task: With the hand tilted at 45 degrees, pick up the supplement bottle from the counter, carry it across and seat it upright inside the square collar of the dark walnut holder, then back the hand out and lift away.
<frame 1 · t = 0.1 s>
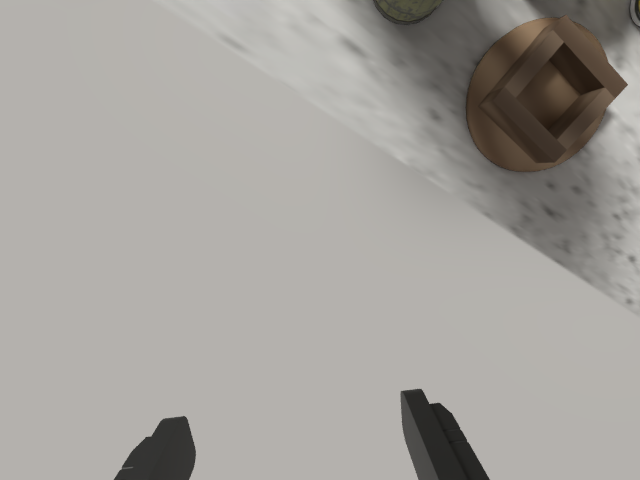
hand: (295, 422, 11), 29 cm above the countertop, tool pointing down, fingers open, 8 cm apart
holder: (534, 100, 36), on the countertop
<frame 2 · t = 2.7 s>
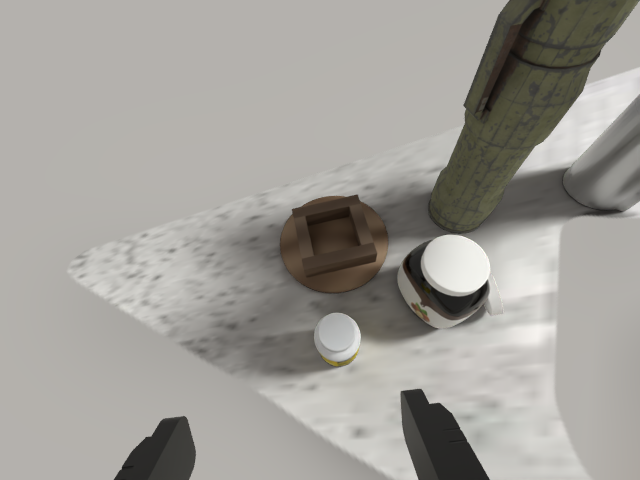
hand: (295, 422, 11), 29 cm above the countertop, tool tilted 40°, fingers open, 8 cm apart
thermos: (454, 211, 48), on the countertop
holder: (333, 241, 47), on the countertop
supplement bottle: (338, 345, 40), on the countertop
spread jar: (444, 294, 42), on the countertop
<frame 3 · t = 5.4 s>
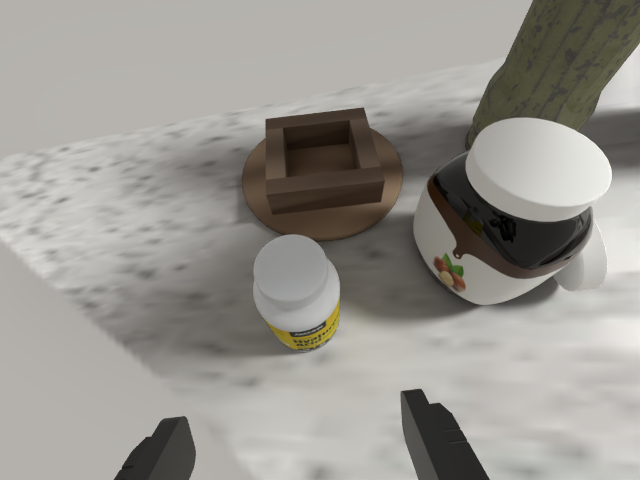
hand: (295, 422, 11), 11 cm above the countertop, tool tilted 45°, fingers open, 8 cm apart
thermos: (504, 149, 33), on the countertop
holder: (321, 174, 32), on the countertop
supplement bottle: (307, 319, 24), on the countertop
spread jar: (486, 258, 26), on the countertop
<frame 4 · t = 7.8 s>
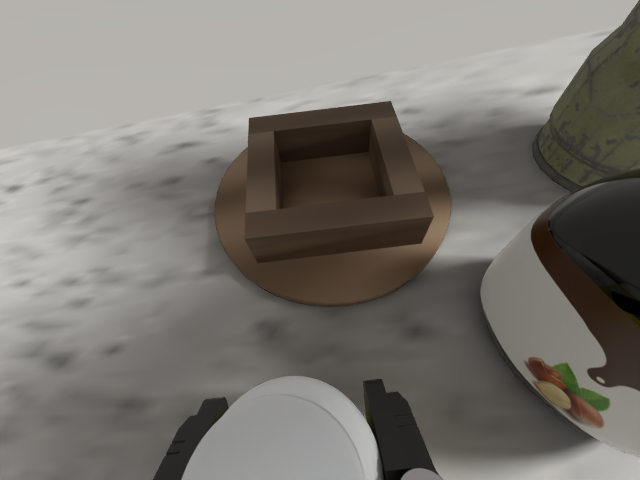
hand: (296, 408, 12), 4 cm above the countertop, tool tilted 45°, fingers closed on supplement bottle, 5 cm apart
thermos: (591, 160, 23), on the countertop
holder: (330, 197, 22), on the countertop
supplement bottle: (310, 452, 14), on the countertop, touching gripper
spread jar: (597, 339, 16), on the countertop
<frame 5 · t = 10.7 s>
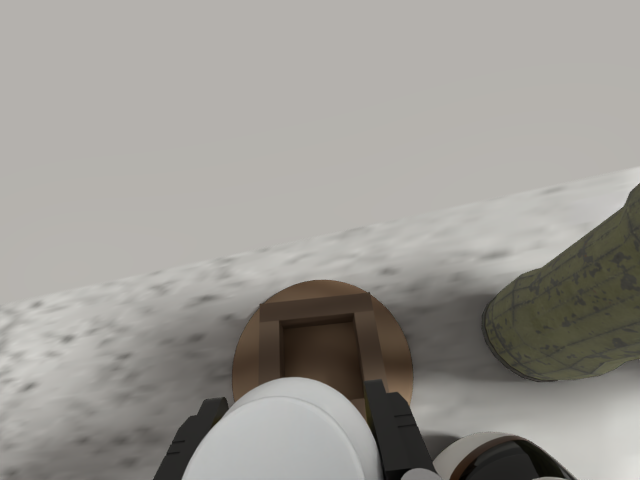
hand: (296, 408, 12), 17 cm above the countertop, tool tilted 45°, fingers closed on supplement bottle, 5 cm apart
thermos: (525, 334, 29), on the countertop
holder: (321, 363, 29), on the countertop
supplement bottle: (310, 453, 14), point 13 cm above the countertop, touching gripper
when the fingers open (6 cm above the countertop, at t = 13.8 s): supplement bottle drops 1 cm, resting on holder.
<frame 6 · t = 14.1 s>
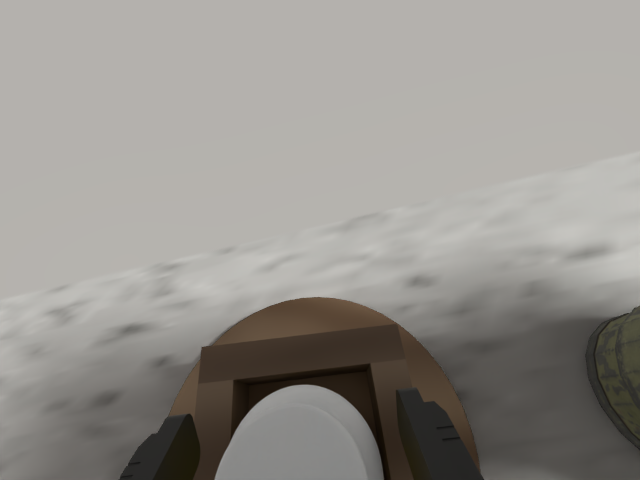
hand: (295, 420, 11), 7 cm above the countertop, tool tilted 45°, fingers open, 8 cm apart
holder: (314, 448, 16), on the countertop
supplement bottle: (316, 452, 16), point 1 cm above the countertop, touching holder
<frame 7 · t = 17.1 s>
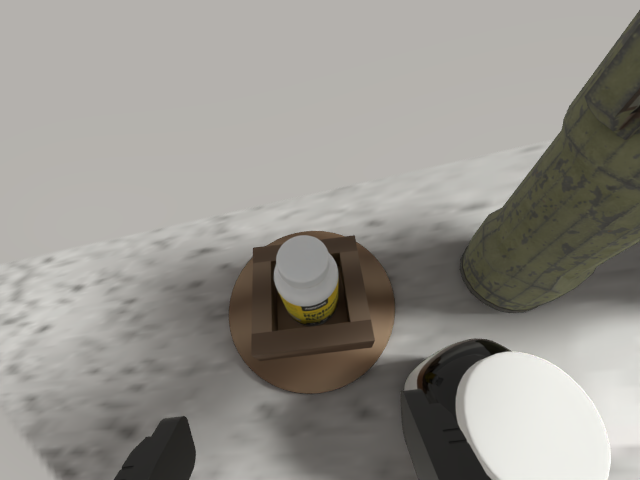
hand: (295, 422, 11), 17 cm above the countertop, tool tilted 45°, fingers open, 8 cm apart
thermos: (500, 274, 32), on the countertop
holder: (311, 302, 31), on the countertop
supplement bottle: (312, 301, 30), point 1 cm above the countertop, touching holder
spread jar: (481, 420, 25), on the countertop
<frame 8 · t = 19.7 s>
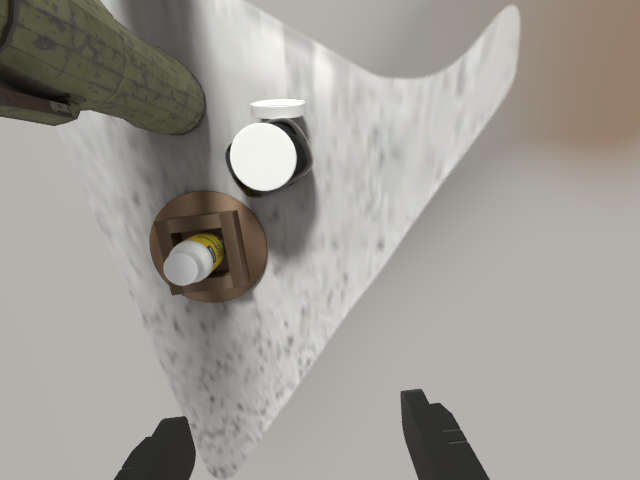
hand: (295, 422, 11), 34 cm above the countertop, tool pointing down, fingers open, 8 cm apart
thermos: (174, 102, 40), on the countertop
holder: (210, 247, 44), on the countertop
supplement bottle: (209, 247, 44), point 1 cm above the countertop, touching holder
spread jar: (276, 145, 41), on the countertop
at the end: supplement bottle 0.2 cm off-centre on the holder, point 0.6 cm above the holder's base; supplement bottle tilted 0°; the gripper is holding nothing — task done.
